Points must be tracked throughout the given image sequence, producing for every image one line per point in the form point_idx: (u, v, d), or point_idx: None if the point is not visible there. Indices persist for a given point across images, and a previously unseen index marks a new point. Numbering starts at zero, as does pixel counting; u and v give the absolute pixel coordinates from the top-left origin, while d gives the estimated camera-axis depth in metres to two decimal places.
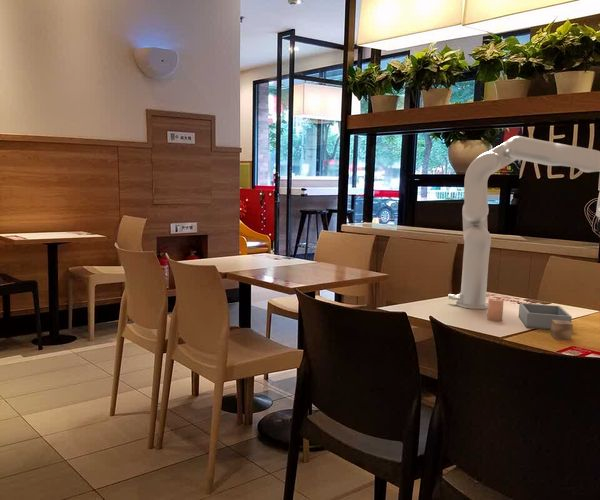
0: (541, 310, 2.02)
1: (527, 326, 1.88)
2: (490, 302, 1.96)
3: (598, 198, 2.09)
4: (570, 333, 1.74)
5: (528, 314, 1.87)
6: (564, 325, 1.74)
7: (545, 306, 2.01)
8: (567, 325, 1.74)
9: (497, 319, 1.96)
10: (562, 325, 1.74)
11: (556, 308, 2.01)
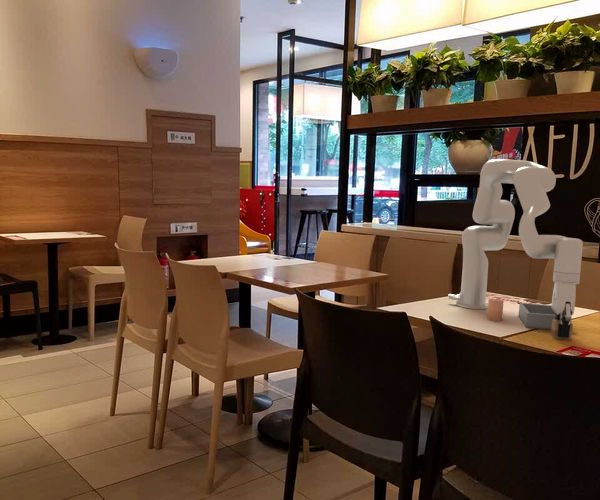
0: (541, 310, 2.02)
1: (527, 326, 1.88)
2: (490, 302, 1.96)
3: (553, 289, 1.79)
4: (570, 333, 1.74)
5: (528, 314, 1.87)
6: None
7: (545, 306, 2.01)
8: None
9: (497, 319, 1.96)
10: None
11: None
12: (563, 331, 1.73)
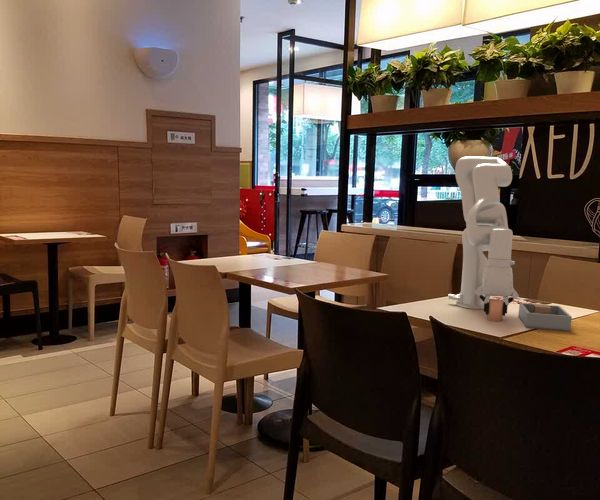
0: None
1: (527, 326, 1.88)
2: (490, 302, 1.96)
3: None
4: None
5: (528, 314, 1.87)
6: (534, 306, 1.98)
7: None
8: (534, 306, 1.97)
9: (497, 319, 1.96)
10: (534, 306, 1.98)
11: (556, 308, 2.01)
12: (484, 308, 1.99)
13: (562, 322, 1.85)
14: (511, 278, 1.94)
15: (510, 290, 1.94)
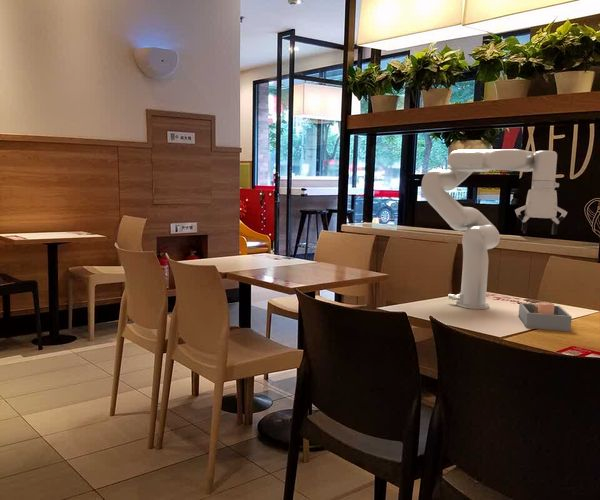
0: None
1: (527, 326, 1.88)
2: (541, 306, 1.89)
3: None
4: None
5: (528, 314, 1.87)
6: (534, 306, 1.98)
7: None
8: (534, 306, 1.97)
9: None
10: (534, 306, 1.98)
11: (556, 308, 2.01)
12: (522, 227, 2.03)
13: (562, 322, 1.85)
14: (555, 199, 1.97)
15: (554, 211, 1.97)
